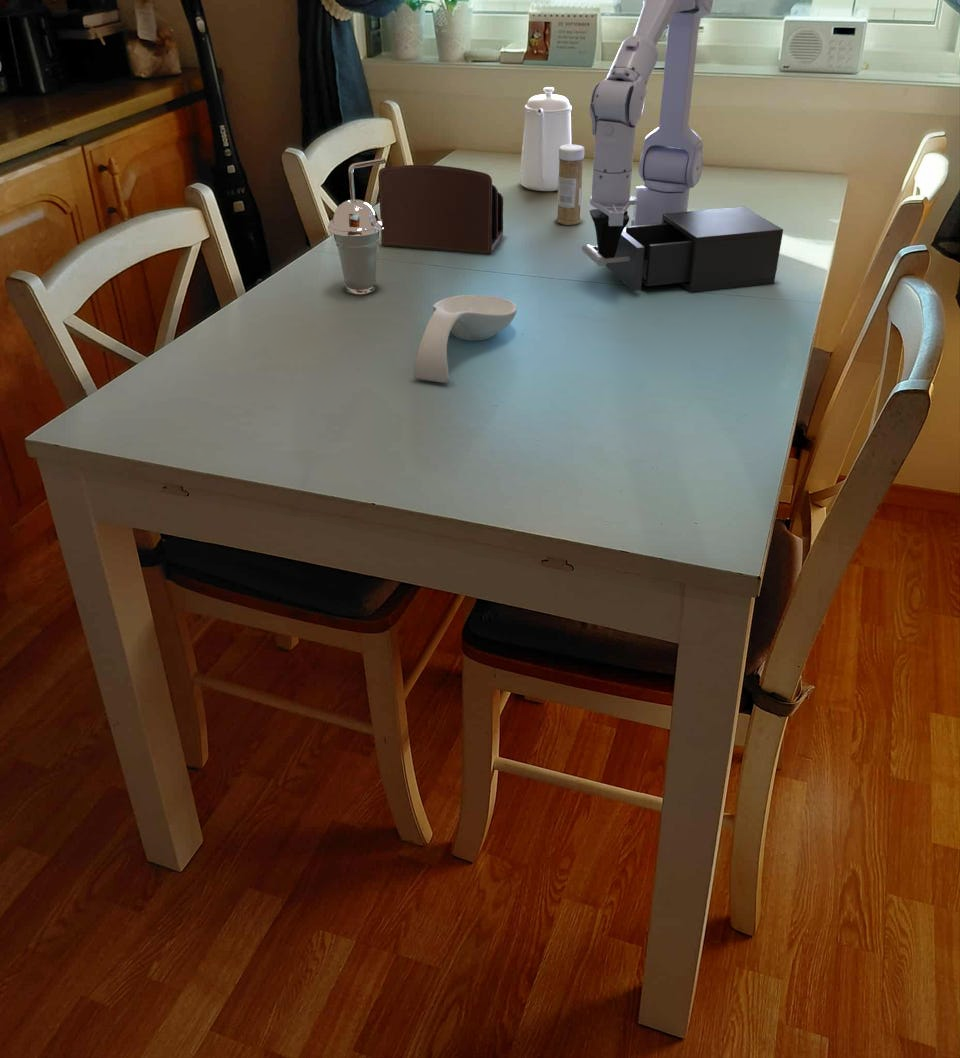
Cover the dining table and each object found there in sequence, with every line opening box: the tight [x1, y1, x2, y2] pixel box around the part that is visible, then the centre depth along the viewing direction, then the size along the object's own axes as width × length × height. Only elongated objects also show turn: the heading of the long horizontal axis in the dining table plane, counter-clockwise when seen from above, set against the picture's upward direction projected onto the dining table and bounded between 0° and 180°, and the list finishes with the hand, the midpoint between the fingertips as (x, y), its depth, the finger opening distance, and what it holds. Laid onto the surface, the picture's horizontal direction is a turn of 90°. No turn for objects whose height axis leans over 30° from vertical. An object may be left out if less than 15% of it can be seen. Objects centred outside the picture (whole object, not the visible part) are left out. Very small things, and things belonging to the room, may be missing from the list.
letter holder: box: [377, 164, 504, 255], centre depth 169 cm, size 10×20×14 cm, turn 76°
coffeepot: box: [519, 86, 573, 192], centre depth 197 cm, size 11×25×19 cm, turn 168°
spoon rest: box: [413, 294, 518, 383], centre depth 133 cm, size 24×12×7 cm, turn 162°
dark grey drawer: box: [581, 223, 694, 292], centre depth 154 cm, size 19×11×7 cm, turn 105°
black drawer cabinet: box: [662, 206, 784, 293], centre depth 157 cm, size 15×13×9 cm
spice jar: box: [556, 144, 585, 226], centre depth 178 cm, size 5×5×14 cm
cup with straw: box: [327, 157, 387, 296], centre depth 148 cm, size 8×9×20 cm
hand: (606, 258), depth 152 cm, fingers closed
